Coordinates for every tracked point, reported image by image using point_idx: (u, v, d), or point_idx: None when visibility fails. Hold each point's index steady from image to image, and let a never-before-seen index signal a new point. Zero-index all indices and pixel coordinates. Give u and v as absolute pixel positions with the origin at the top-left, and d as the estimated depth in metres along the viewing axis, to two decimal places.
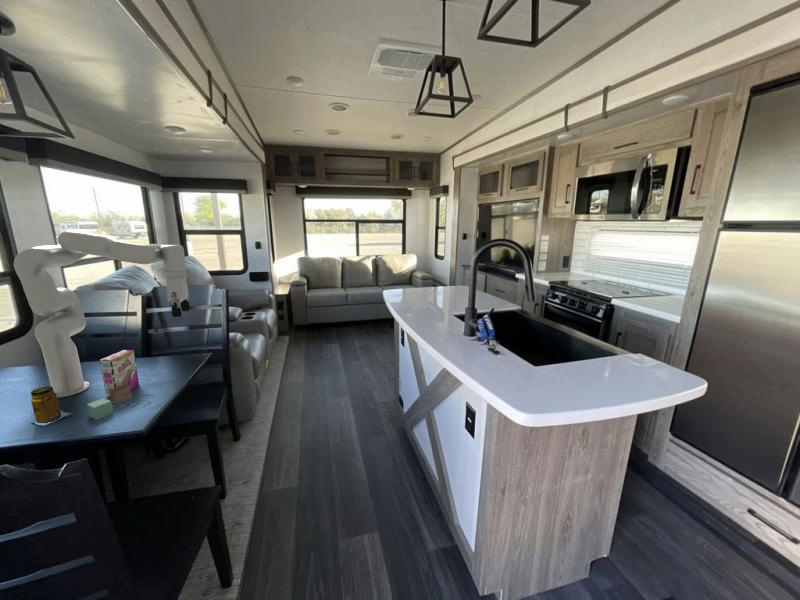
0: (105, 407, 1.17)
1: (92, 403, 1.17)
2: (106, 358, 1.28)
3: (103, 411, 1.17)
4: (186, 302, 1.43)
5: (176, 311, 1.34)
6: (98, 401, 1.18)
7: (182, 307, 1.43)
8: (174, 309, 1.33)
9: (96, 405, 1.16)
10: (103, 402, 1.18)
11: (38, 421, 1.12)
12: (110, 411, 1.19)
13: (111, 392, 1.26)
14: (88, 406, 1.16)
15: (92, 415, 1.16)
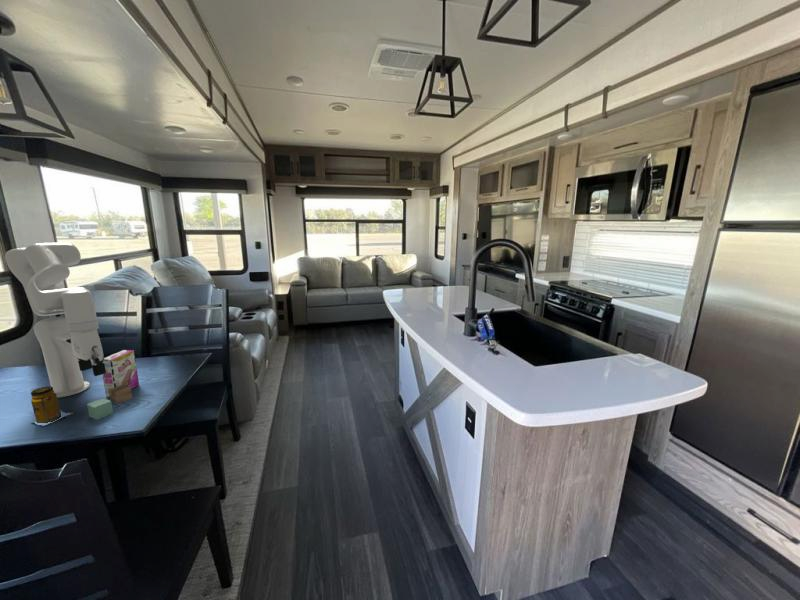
0: (105, 407, 1.17)
1: (92, 403, 1.17)
2: (106, 358, 1.28)
3: (103, 411, 1.17)
4: None
5: (101, 368, 1.12)
6: (98, 401, 1.18)
7: (82, 366, 1.15)
8: (98, 366, 1.11)
9: (96, 405, 1.16)
10: (103, 402, 1.18)
11: (38, 421, 1.12)
12: (110, 411, 1.19)
13: (111, 392, 1.26)
14: (88, 406, 1.16)
15: (92, 415, 1.16)
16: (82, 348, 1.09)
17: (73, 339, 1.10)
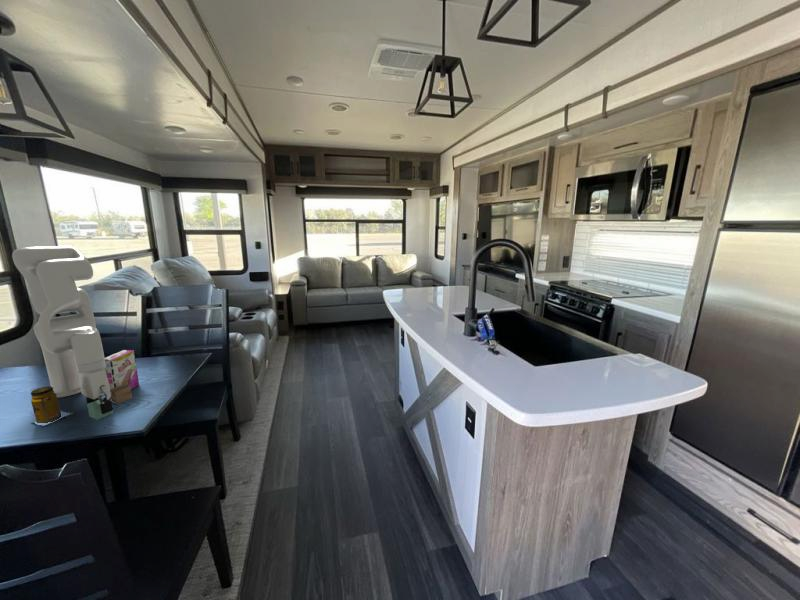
0: None
1: (92, 403, 1.17)
2: (106, 358, 1.28)
3: None
4: None
5: (108, 406, 1.15)
6: (98, 401, 1.18)
7: None
8: (106, 404, 1.15)
9: (96, 405, 1.16)
10: None
11: (38, 421, 1.12)
12: (110, 411, 1.19)
13: (111, 392, 1.26)
14: (88, 406, 1.16)
15: (92, 415, 1.16)
16: (90, 388, 1.12)
17: (81, 378, 1.13)
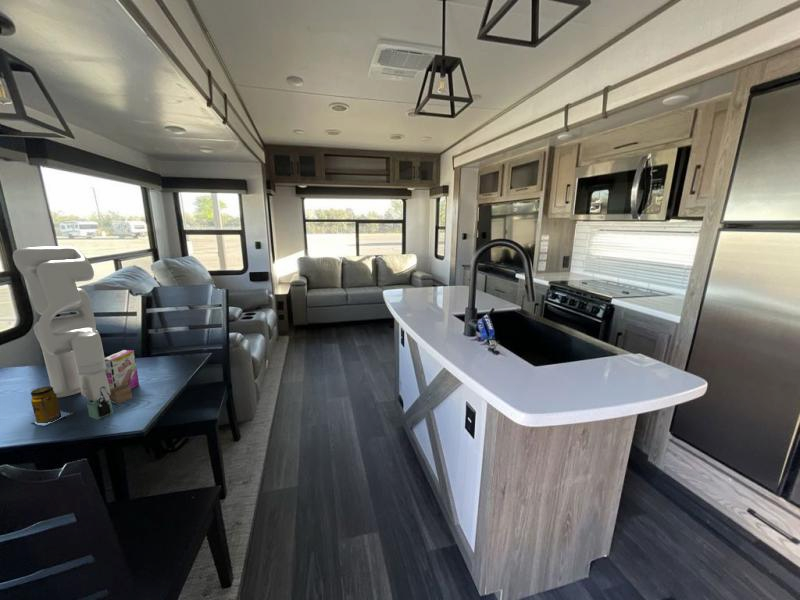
0: None
1: (92, 403, 1.17)
2: (106, 358, 1.28)
3: None
4: None
5: (106, 409, 1.17)
6: None
7: None
8: (103, 407, 1.16)
9: (96, 405, 1.16)
10: None
11: (38, 421, 1.12)
12: None
13: (111, 392, 1.26)
14: (88, 406, 1.16)
15: (92, 415, 1.16)
16: (90, 389, 1.12)
17: (82, 380, 1.14)
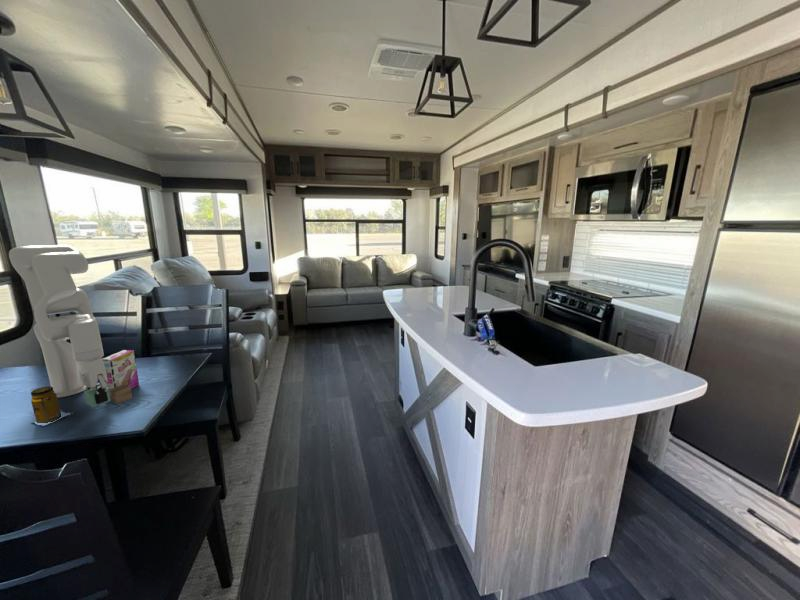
0: None
1: (89, 390, 1.16)
2: (106, 358, 1.28)
3: None
4: None
5: (103, 396, 1.16)
6: None
7: None
8: (101, 394, 1.15)
9: (93, 392, 1.15)
10: None
11: (38, 421, 1.12)
12: None
13: (111, 392, 1.26)
14: (85, 393, 1.15)
15: (89, 402, 1.15)
16: (87, 376, 1.11)
17: (79, 367, 1.12)
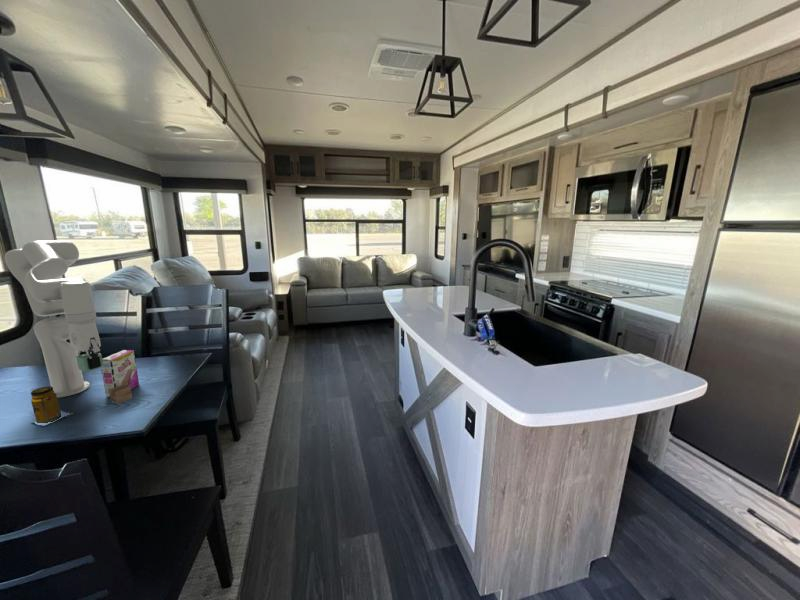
0: None
1: (82, 355, 1.13)
2: (106, 358, 1.28)
3: None
4: None
5: (96, 361, 1.13)
6: None
7: None
8: (93, 359, 1.12)
9: (85, 357, 1.12)
10: None
11: (38, 421, 1.12)
12: None
13: (111, 392, 1.26)
14: (77, 358, 1.12)
15: (81, 367, 1.12)
16: (80, 339, 1.08)
17: (71, 330, 1.10)
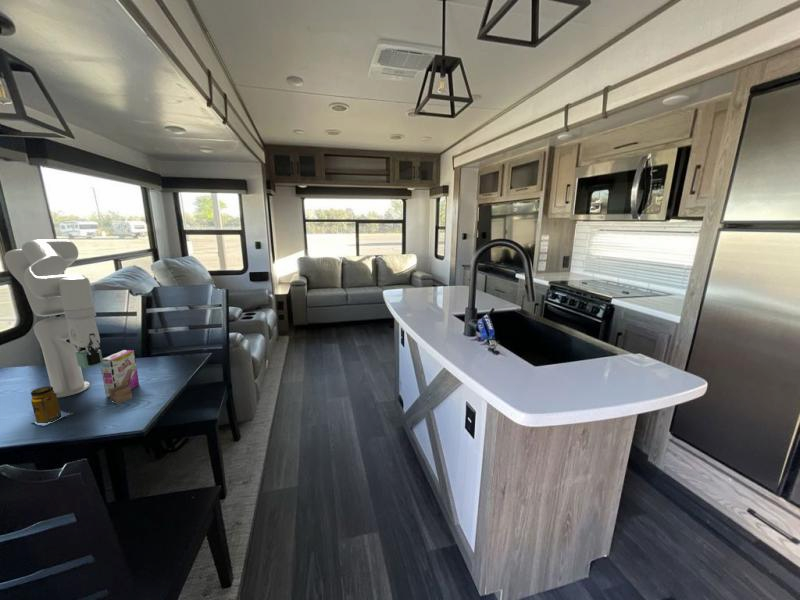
0: None
1: (81, 351, 1.13)
2: (106, 358, 1.28)
3: None
4: None
5: (95, 357, 1.12)
6: None
7: None
8: (93, 355, 1.12)
9: (85, 353, 1.11)
10: None
11: (38, 421, 1.12)
12: None
13: (111, 392, 1.26)
14: (77, 354, 1.12)
15: (81, 364, 1.12)
16: (79, 335, 1.08)
17: (70, 326, 1.09)
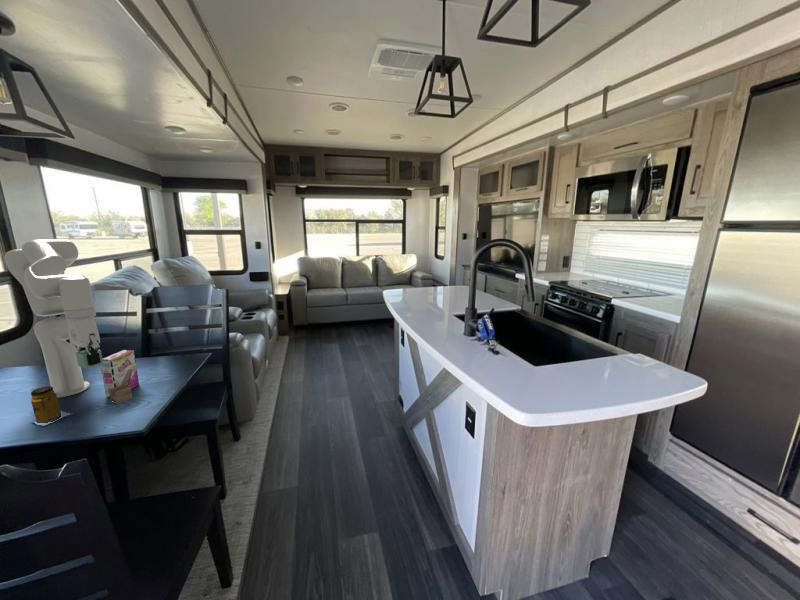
0: None
1: (81, 351, 1.13)
2: (106, 358, 1.28)
3: None
4: None
5: (95, 357, 1.12)
6: None
7: None
8: (93, 355, 1.12)
9: (85, 353, 1.11)
10: None
11: (38, 421, 1.12)
12: None
13: (111, 392, 1.26)
14: (77, 354, 1.12)
15: (81, 364, 1.12)
16: (79, 335, 1.08)
17: (70, 326, 1.09)
